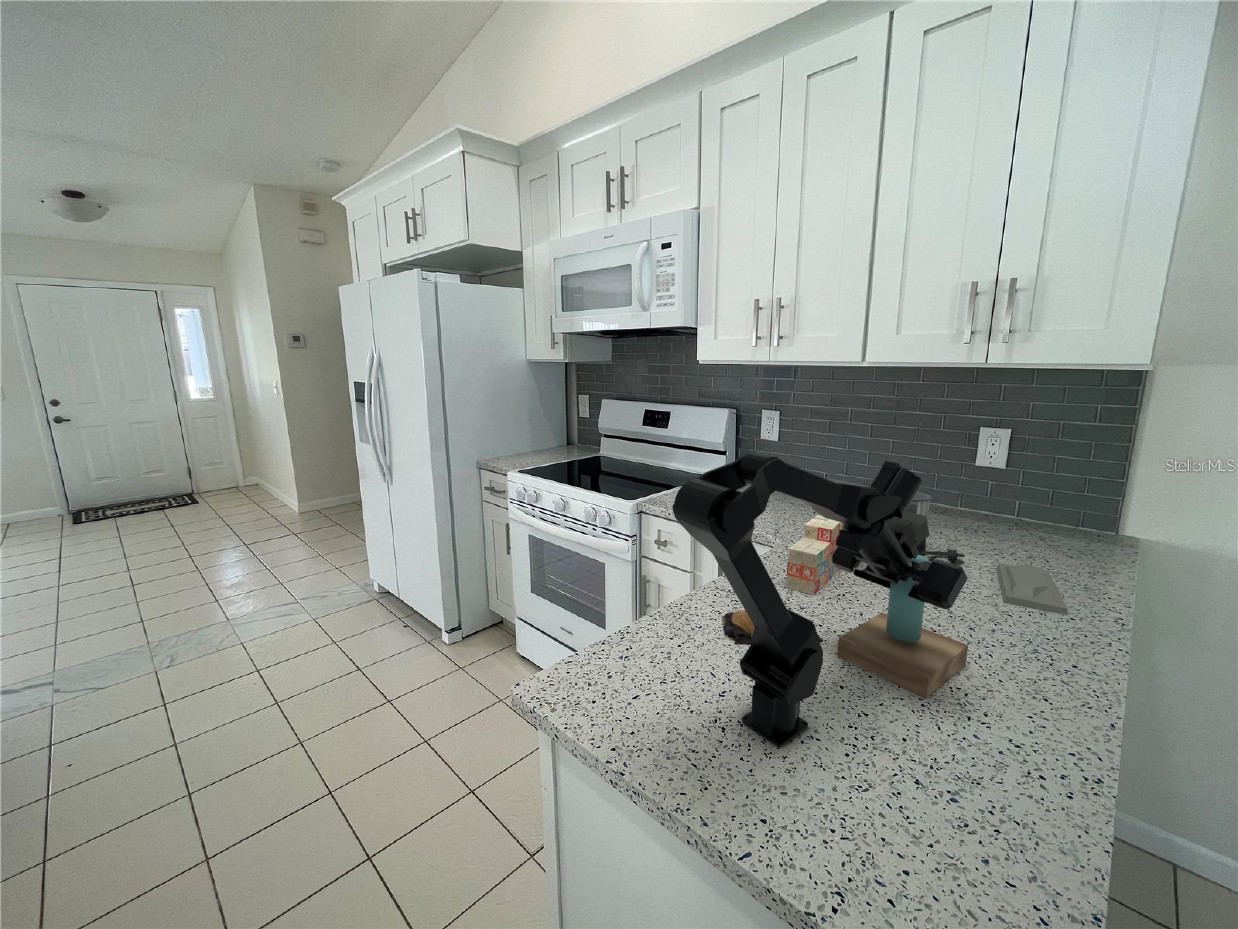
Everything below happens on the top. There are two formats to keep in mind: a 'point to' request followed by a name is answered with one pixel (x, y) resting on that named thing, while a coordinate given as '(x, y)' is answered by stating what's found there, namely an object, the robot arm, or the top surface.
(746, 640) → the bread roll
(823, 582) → the stack of blocks
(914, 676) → the walnut plinth
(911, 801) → the top surface
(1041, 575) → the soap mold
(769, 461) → the robot arm
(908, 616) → the teal post
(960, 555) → the milk frother
